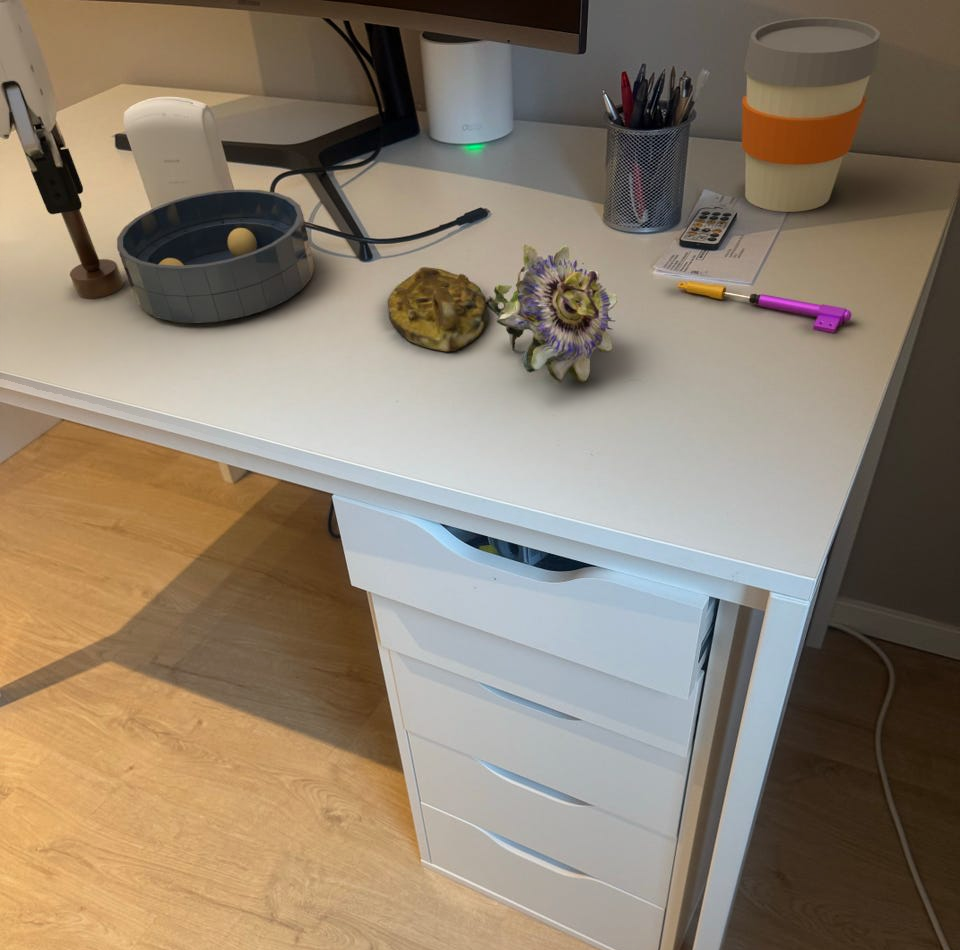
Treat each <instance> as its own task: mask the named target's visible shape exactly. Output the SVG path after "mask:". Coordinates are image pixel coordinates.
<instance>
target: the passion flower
mask: <svg viewBox="0 0 960 950" xmlns="http://www.w3.org/2000/svg"><path fill="white" fill-rule="evenodd" d="M577 261H578V260H577V259H576V260H574V262H573V263H572V261H570V247H569V246H567V245H563V246H561V248H559V250H558V251H557V252H556V253H555V254H554V256H553V255H551V254H549V255H547V258H546V259H544V257H543V256H542V255H539V254H538V252H537V251H536V248H535V247H534V246H532V245H527V244H524V245H523V265H524V266H522V267H521V269H520V270H519V272H518V273H517V280H516V282H517V283H516V284H515V288H516V290H515V291H514V292H513V295H512V297H511V299H510V300H508V299H506V298H505V297H504V295H505V294H507V293H509V292H510V290H511V289H512V285H510V284H497V285H496V286H495V287H494V289H493V292H494V294H495V296H494V297H495V298H494V297H493V296H488V298H489V299H487V300H486V305H487V308H489V309H490V311H492V312H493V313H494V314H495V315H496V316H497V318H496V323H497V324H498V325H501V326H503V327H505V331H506V332H507V333H508V336H509V341H510V345H511V349H512V351H514V350H515V348H516V339H517V338H520V337H522V335H523V334H524V332H525V330H528V331H531V332H532V334H533V336H532V340H531V344H530V345H529V347H527V349H526V350H525V352H524V355H523V358H522V365H523V368H524V369H525V370H526V372H527V373H534V372H537V371H538V370H540V369H541V368H542V367H543V366H544V365H545V366H546V369H547V371H548V373H549V375H550V376H551V377H552V378H553V379H554V380H555V381H556V382H557V383H559V384H561V383H562V382H563V379H564V378H565V374H566V373H567V374H569V375H571V377H572V378H574V380H576V381H578V382H580V383H584V382H586V381H587V380H588V378H589V376H590V374H591V373H590V372H591V367H590V366H591V359H590V358H591V356H593V355H592V354H593V353H594V351H596V350H597V351H599V352H601V353H610V352H611V351H612V348H613V346H612V342H611V341H612V340H611V337H610V336H609V335H608V333H607V331H606V330H610V331H611V330H613V328H612V327H609V324H608V323H609V322H616V320H612V317H610V316H609V311H611V310H612V309H613V308H614V307H615V306H616V304H617V302H618V296H617V294H615V293H612V292H607V291H606V288H607V287H604V286H603V285H602V284H601V283H600V282H599V281H600V272H599V270H596V269H588V270H587V268H584V269H583V268H579V269H577V266H578V262H577ZM582 265H585V264H584V262H582ZM521 273H523V278H522V279H521ZM500 303H502V304H503V307H502V308H499V304H500Z"/></svg>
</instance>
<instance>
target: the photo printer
mask: <svg viewBox="0 0 960 950" xmlns="http://www.w3.org/2000/svg"><path fill="white" fill-rule="evenodd" d="M216 121H217V120H216V117H215V114H214V113H213V110H212V109H211V107H210V106H209V104H207V103H204V102H201V101H198V100H195V99H191V98H186V97H180V96H158V97H151V98H148V99H143V100H142V101H139V102H136V103H134V104H133V105H131V106H130V107H128V108H127V109H126V110H125V111H124V113H123V124H124V125H123V127H124V130H125V135H126V138H127V140H128V143H129V147H130V149H131V152H132V156H133V158H134V162H135V164H136V168H137V170H138V173H139V176H140V179H141V182H142V185H143V187H144V191H145V194H146V196H147V200H148V202H149V205H150V208H151V209H153V208H156V207H158V206H161V205H163V204H166V203H168V202H171V201H174V200H178V199H181V198H185V197H189V196H192V195H197V194H203V193H208V192H214V191H224V190H235V187H234V184H233V179H232V175H231V172H230V169H229V168H230V167H229V164H228V161H227V158H226V157H227V156H226V154H225V150H224V147H223V143H222V139H221V135H220V131H219V129H218V124H217V122H216Z"/></svg>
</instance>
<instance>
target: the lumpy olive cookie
mask: <svg viewBox="0 0 960 950" xmlns="http://www.w3.org/2000/svg"><path fill="white" fill-rule="evenodd" d="M486 302H487V298H486V296H485V295H484V294H483V292H482V290H481V288H480V286H478V285H477V284H476V283H475V282H472V281H471V280H469V277H468V276H467V275H466V274H464V273H459V274H457V273H452V272H450V271H447V270H444V269H442V268H437V267H429V266H428V267H427V266H422V267H420V268H419V269H417V270H416V271H415V272H413V274H412V275H410V276H409V277H407V278H406V279H405V280H404V281H402V282H400V283H399V284H397V286H395V288H393V290H392V291H391V293H390V294H389V296H388V298H387V314H388V318H389V321H390V323H391V324H392V326H393V328H394V329H395V330H396V331H397V333H399V334H400V335H401V336H402V337H404V338H405V340H407V341H408V342H410V343H413V344H415V345H417V346H420V347H422V348H425V349H430V350H435V351H439V352H440V351H442V352H455V351H458V350H461V349H462V348H464V347H466V345H468V344H470V343H472V342H474V341H475V340H476V339H477V338H478V337H480V335H481V334H482V332H483V331H484V330H485V328H486V326H487V324H488V321H489V312H488V306H487V304H486Z"/></svg>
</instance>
